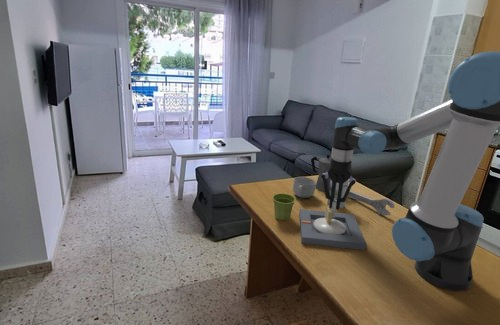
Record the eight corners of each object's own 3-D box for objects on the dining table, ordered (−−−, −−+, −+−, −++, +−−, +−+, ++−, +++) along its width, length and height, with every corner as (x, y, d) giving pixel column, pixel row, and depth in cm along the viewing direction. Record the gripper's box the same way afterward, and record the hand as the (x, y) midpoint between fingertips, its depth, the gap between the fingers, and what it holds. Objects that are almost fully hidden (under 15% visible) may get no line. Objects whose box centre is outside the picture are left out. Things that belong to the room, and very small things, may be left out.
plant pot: (298, 217, 125) (300, 198, 122) (284, 225, 118) (286, 205, 116) (280, 209, 131) (281, 191, 128) (266, 216, 124) (267, 197, 122)
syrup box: (345, 207, 136) (350, 177, 132) (335, 209, 134) (339, 179, 129) (336, 202, 141) (340, 173, 136) (326, 204, 138) (330, 174, 134)
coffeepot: (339, 188, 157) (344, 155, 152) (333, 194, 150) (338, 159, 144) (312, 181, 165) (315, 149, 160) (304, 186, 158) (308, 153, 152)
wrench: (342, 198, 153) (393, 219, 126) (339, 199, 152) (390, 220, 125) (343, 183, 151) (395, 201, 125) (340, 183, 150) (392, 201, 124)
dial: (349, 237, 110) (351, 223, 108) (316, 234, 110) (317, 220, 108) (341, 220, 122) (343, 207, 120) (311, 218, 122) (312, 205, 120)
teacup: (298, 189, 154) (300, 174, 151) (318, 195, 148) (320, 180, 145) (284, 197, 143) (286, 182, 140) (305, 204, 137) (307, 188, 135)
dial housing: (365, 250, 105) (366, 243, 104) (301, 243, 107) (302, 236, 106) (352, 219, 125) (353, 213, 125) (299, 214, 128) (299, 208, 127)
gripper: (360, 159, 112) (351, 216, 120) (325, 153, 118) (319, 208, 125) (358, 165, 106) (348, 224, 113) (321, 158, 111) (314, 216, 118)
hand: (333, 216), depth 119 cm, fingers closed
